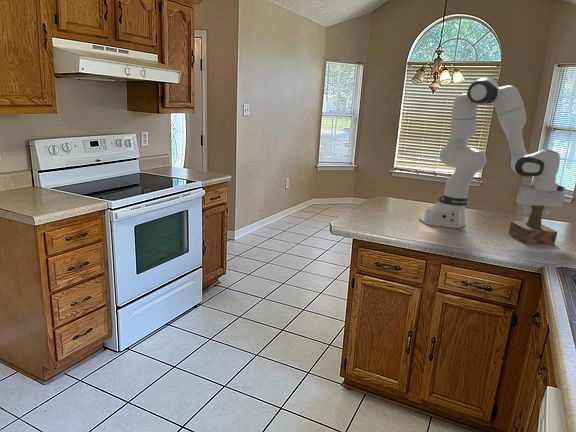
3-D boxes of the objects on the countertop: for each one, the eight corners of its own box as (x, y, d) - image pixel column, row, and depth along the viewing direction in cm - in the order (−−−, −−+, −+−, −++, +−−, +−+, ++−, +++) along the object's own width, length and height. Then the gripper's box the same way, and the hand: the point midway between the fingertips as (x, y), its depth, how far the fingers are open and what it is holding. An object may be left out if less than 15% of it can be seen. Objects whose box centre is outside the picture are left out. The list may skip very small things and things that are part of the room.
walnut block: (523, 242, 191) (526, 229, 190) (508, 233, 205) (511, 221, 203) (554, 244, 192) (557, 231, 190) (537, 235, 205) (539, 223, 204)
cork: (543, 228, 194) (548, 205, 191) (528, 227, 195) (534, 204, 192) (537, 225, 200) (543, 202, 197) (524, 223, 200) (529, 201, 198)
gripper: (524, 185, 188) (517, 215, 192) (569, 188, 189) (562, 218, 192) (516, 182, 194) (510, 211, 198) (560, 185, 195) (553, 214, 198)
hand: (536, 214), depth 195 cm, fingers open, 8 cm apart
